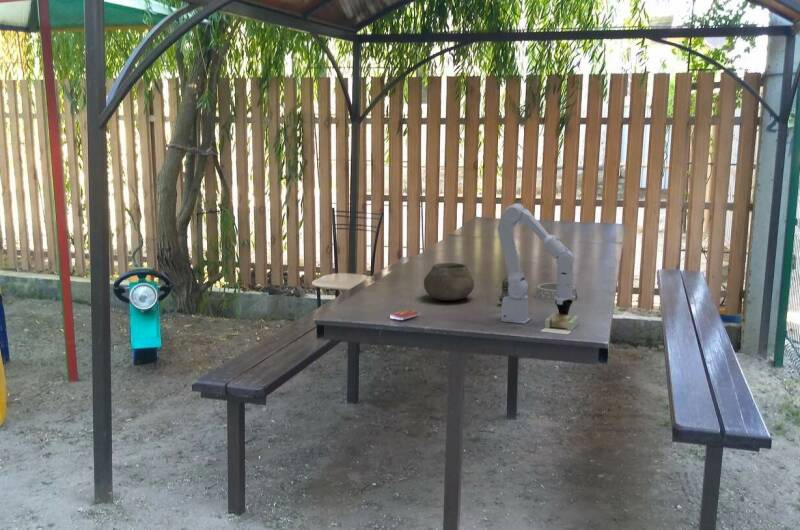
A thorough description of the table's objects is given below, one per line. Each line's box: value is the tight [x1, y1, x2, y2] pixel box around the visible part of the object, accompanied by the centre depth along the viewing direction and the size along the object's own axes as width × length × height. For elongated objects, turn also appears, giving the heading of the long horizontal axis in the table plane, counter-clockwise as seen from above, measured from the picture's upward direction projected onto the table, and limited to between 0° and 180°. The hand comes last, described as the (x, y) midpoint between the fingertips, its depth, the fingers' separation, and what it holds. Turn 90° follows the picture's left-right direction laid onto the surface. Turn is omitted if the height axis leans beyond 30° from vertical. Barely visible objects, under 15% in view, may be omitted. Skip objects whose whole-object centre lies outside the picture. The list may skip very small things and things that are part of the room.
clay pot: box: [423, 262, 475, 302], centre depth 327 cm, size 22×21×15 cm
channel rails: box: [544, 312, 580, 332], centre depth 285 cm, size 10×11×3 cm
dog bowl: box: [535, 282, 578, 304], centre depth 331 cm, size 17×18×5 cm
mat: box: [540, 327, 572, 335], centre depth 278 cm, size 10×5×1 cm, turn 64°
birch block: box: [550, 313, 572, 330], centre depth 284 cm, size 6×4×4 cm
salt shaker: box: [498, 276, 509, 307], centre depth 317 cm, size 6×6×12 cm
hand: (563, 319), depth 287 cm, fingers closed
